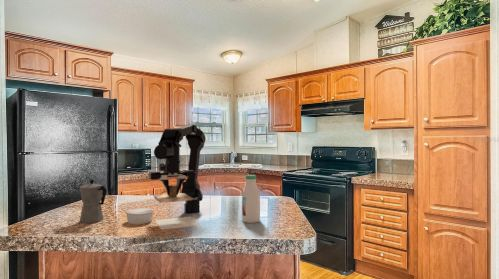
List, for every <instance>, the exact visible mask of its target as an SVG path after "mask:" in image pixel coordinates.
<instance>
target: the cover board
mask: <svg viewBox="0 0 499 279" xmlns="http://www.w3.org/2000/svg"><path fill="white" fill-rule="evenodd" d="M176 185H177V184H173V185H172V184H171V185H170V184H169V196H168V195H167V193H166V194H154V195H153V198H154V199H155V200H156V201H157V202H158V203H160V204H161V203H162V204H164V203H172V202H173V203H175V202H185V201H188V200H192V197H190V196H188V195H186V194H185V193H181V192H179V193H178V195H177V186H176Z"/></svg>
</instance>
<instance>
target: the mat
mask: <svg viewBox="0 0 499 279" xmlns="http://www.w3.org/2000/svg"><path fill="white" fill-rule="evenodd" d="M154 221H155V223H156V224H157V226H158V227H159V229H160V230H169V229H170V230H171V229H179V228H188V227H197V226H202V224H201V223H200V222H198V221H197V220H196V219H195V218H194V217H193V216H183V217H175V218H174V217H173V218H165V219H164V218H161V219H155V220H154Z"/></svg>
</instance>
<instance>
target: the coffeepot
mask: <svg viewBox="0 0 499 279" xmlns="http://www.w3.org/2000/svg"><path fill="white" fill-rule="evenodd" d="M94 181H95V180H94V179H89V183H87V184H85V185H80V186H79V191H80V196H81V198H80V199H81V202H82V203H83V204H82V205H83V206H82V207H81V208H82V209H81V211H80V212H81V213H80V217H79V222H80V223H82V224H93V223H98V222H101V220H102V221H103V220H104V215H103V210H102V206H103V205H104V203H105V201H106V200H105V199H106V195H107V193H108V189H107V187H105V185H103V184H98V183H94Z"/></svg>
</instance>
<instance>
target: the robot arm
mask: <svg viewBox="0 0 499 279" xmlns="http://www.w3.org/2000/svg"><path fill="white" fill-rule="evenodd" d="M184 137H185V139H186V141H187V146H188V148H189V150H190V152H189V159H188V167H187V170H186V169H185V170H183V171H181V170H180V167H181V166H180V164H181V160H180V159H181V158H180V156H181V152H180V150H181V149H180V148H181V147H182V144H181V143H180V142H182V140H184ZM206 141H207V140H206V135H205V133H204V131H203V130H201V129H200V128H198V127H197V124H185V125H183V126H180V127H177V128H175V127H174V128H170V127H169V128H165V129H164V130H163V131H162V134H161V137H160V140H159V142H158V145H156V146H155V148H153V149H154V150H153V155H154V157H155V158H156V159H157V160H165V162H164V163H159V164H158V167H159V168H158V170H159V171H149V173H148V179H149V180H152V181H153V180H154V181H155V180H159V181H160V182H162V184H163V185H164V188H165V189H164V190H165V192H166V194H167V195H168V196H169V186H170V181H169V179H168V178H173V177H174V178H175V177H176V184H175V185H176V186H177V195H178V194H179V193H185V194H186V195H188V196H190V197H192V200H188V201H184V204H183V205H184V206H183V207H184V208H183V210H184V214H185V213H186V214H187V215H190V214H200V213H201V211H200V210H201V209H200V204H201V203H200V202H202V201H203V198H204V196H203V193H202V191H201V189H200V188H201V185H200V183H199V181H198V176H199V166H200V156H201V155H200V154H201V151H202V150H203V148H204V147H205V142H206ZM186 177H187V178H186Z"/></svg>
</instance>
